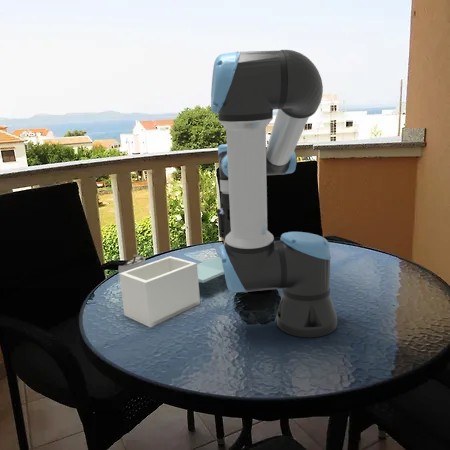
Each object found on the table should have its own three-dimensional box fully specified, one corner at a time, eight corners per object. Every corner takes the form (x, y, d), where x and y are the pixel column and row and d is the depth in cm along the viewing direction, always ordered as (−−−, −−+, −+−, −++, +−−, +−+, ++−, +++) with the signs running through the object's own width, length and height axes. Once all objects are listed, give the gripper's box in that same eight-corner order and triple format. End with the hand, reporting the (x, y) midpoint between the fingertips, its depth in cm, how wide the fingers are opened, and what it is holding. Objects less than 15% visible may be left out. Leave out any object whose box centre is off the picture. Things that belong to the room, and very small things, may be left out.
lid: (254, 260, 139) (254, 240, 137) (203, 282, 122) (201, 260, 120) (228, 254, 147) (227, 235, 145) (177, 274, 130) (175, 253, 128)
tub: (200, 303, 120) (196, 263, 117) (150, 327, 108) (145, 282, 105) (173, 294, 128) (170, 256, 125) (124, 315, 116) (119, 273, 113)
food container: (139, 297, 128) (136, 266, 125) (121, 296, 129) (117, 266, 127) (154, 282, 139) (151, 254, 137) (137, 281, 141) (134, 254, 138)
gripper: (260, 191, 132) (262, 260, 137) (220, 188, 143) (224, 251, 149) (244, 195, 126) (248, 267, 132) (205, 191, 138) (209, 257, 144)
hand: (235, 259), depth 140 cm, fingers closed on lid, 4 cm apart
